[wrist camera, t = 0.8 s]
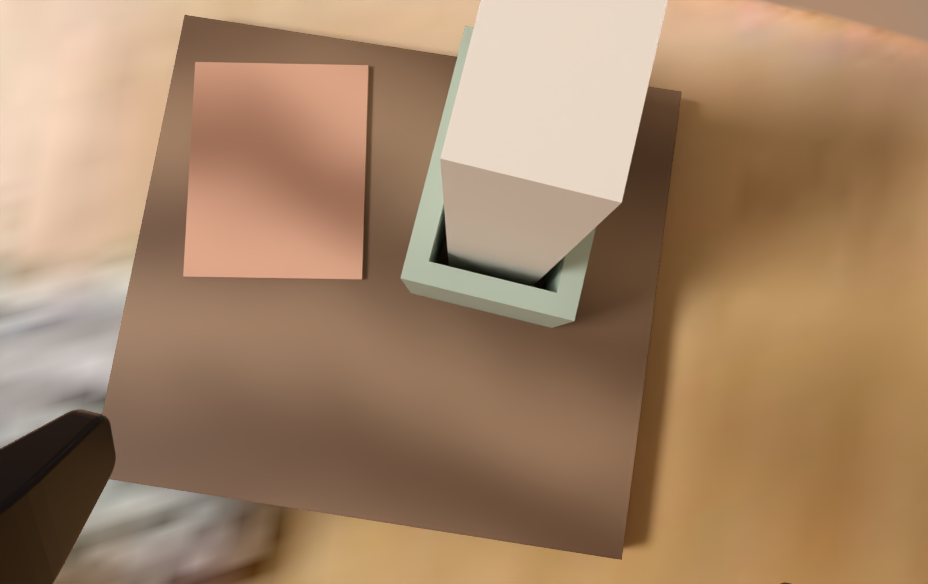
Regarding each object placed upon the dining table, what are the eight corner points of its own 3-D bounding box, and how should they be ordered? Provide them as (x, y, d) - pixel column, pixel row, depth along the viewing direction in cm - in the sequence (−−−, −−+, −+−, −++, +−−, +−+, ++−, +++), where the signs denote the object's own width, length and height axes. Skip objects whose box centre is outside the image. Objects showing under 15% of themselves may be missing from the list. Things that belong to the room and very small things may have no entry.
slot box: (552, 328, 21) (574, 321, 17) (410, 293, 21) (400, 278, 17) (600, 119, 22) (633, 66, 18) (463, 86, 22) (465, 25, 18)
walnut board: (614, 550, 21) (622, 561, 20) (106, 470, 22) (86, 477, 20) (671, 103, 23) (683, 89, 22) (196, 29, 23) (182, 12, 22)
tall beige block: (528, 289, 21) (621, 202, 9) (449, 270, 21) (440, 157, 9) (564, 141, 22) (695, -124, 10) (486, 122, 22) (523, -164, 10)
